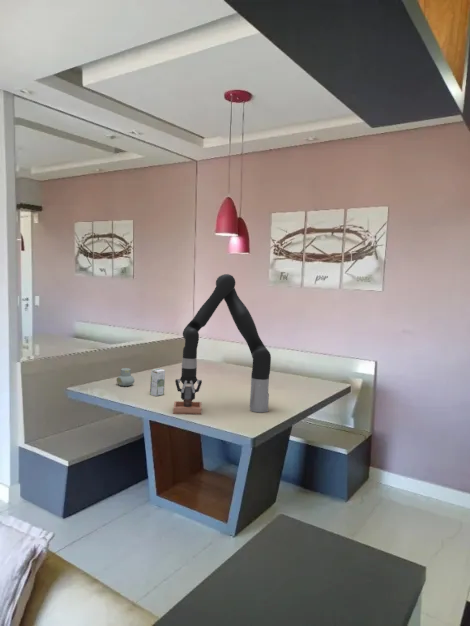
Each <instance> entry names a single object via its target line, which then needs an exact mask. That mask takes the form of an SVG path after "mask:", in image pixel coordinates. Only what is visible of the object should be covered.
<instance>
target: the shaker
mask: <svg viewBox="0 0 470 626" xmlns="http://www.w3.org/2000/svg"><path fill="white" fill-rule="evenodd" d="M191 387H193V386H192V384H190V383H187V384H185V389H184V400H182V401H183V406H184V407H191V406H192V402H193V400H192V393H193V391H192V388H191Z"/></svg>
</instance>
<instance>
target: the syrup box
mask: <svg viewBox="0 0 470 626" xmlns="http://www.w3.org/2000/svg"><path fill="white" fill-rule="evenodd" d="M165 380H166V369H163V368H155V369H154V368H153V369H151V371H150V389H149V395H151V396H153V397H154V396H155V397H160V396H164V395H165V385H166V384H165V383H166V382H165Z"/></svg>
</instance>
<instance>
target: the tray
mask: <svg viewBox="0 0 470 626" xmlns="http://www.w3.org/2000/svg"><path fill="white" fill-rule="evenodd" d="M183 401H184V400H181V401H179V400H178V401H177V400H174V402H173V407H172V414H174V415H202V410H203V409H202V402H203V401H192V406H191V407H184V406H183Z"/></svg>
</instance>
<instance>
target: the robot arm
mask: <svg viewBox="0 0 470 626" xmlns="http://www.w3.org/2000/svg"><path fill="white" fill-rule="evenodd" d="M235 286H236V279H235V278H234V276H233V275H232V274H229V273H227V274H226V273H225V274H221V275H219V276H218V277H216V279H215V288H214V290H213V291H212V293H211V294H210V296H209V297H208V298H207V300H206V301H205V302H203V304H202V305H201V307H200V308H199V309H198V311H197V312H196V313H195V315H194V317H193V318H192V319H191V320H190V321H189V323H188V324H187V325H186V326H185V328H184V329H183V331H182V337H183V339H184V347H183V348H182V360H181V376H180V378H176V379H175V381H174V382H175V385H176V389H177V392H180V398H181V401H184V389H185V384H187V383H190V384H192V386H193V387H191V388H192V391H193V393H192V401H194V400H195V399H196V393H199V391H200V389H201V386H202V384H203V383H202V382H203V381H202V379H198V377H197V368H198V359H197V358H198V357H197V356H198V354H197V353H198V346H199V339H200V334H199V333H200V330H201V329H202V328H204V327H206V325H207V323H208V322H209V320H210V319H211V318H212V316H213V315H214V314H215V312H216V310H217V308H218V307H219V306H220V304H221V303H222V302H223V300H224V301H225V303H226V307H227V308H228V311H229V313H230V316H231V317H232V320H233V322H234V324H235V326H236V328H237V330H238V332H239V333H240V335H241V336H242V337H243V339H244V341H245V342H246V344H247V347H248V348H249V351H250V354H251V358H252V370H251V379H250V394H249V395H250V397H249V400H250V401H249V410H250V411H251V412H253V413H266V412H269V400H270V398H269V397H270V394H269V388H270V387H269V386H270V385H269V384H270V374H271V363H272V356H271V352H270V351H269V349H267V348H268V347H266V345H265V344H264V342H263V340H262V339H261V337H260V336H259V333H258V330H257V326H256V324H255V320H254V318H253V317H252V314H251V312H250V311H249V309H248V308H247V307H246V305H245V304H244V302H243V301H242V300H241V299H240V297H239V295H238V293H237V291H236V289H235ZM180 383H181V384H182V387H181V386H180ZM196 383H197V387H196V388H195V384H196Z"/></svg>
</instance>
